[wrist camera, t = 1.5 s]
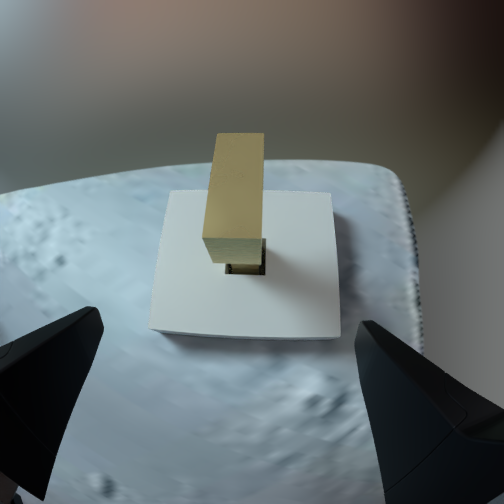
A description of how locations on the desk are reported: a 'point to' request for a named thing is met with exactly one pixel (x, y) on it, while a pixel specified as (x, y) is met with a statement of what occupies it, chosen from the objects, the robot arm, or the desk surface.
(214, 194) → the t key
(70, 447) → the desk surface
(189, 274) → the cover plate
